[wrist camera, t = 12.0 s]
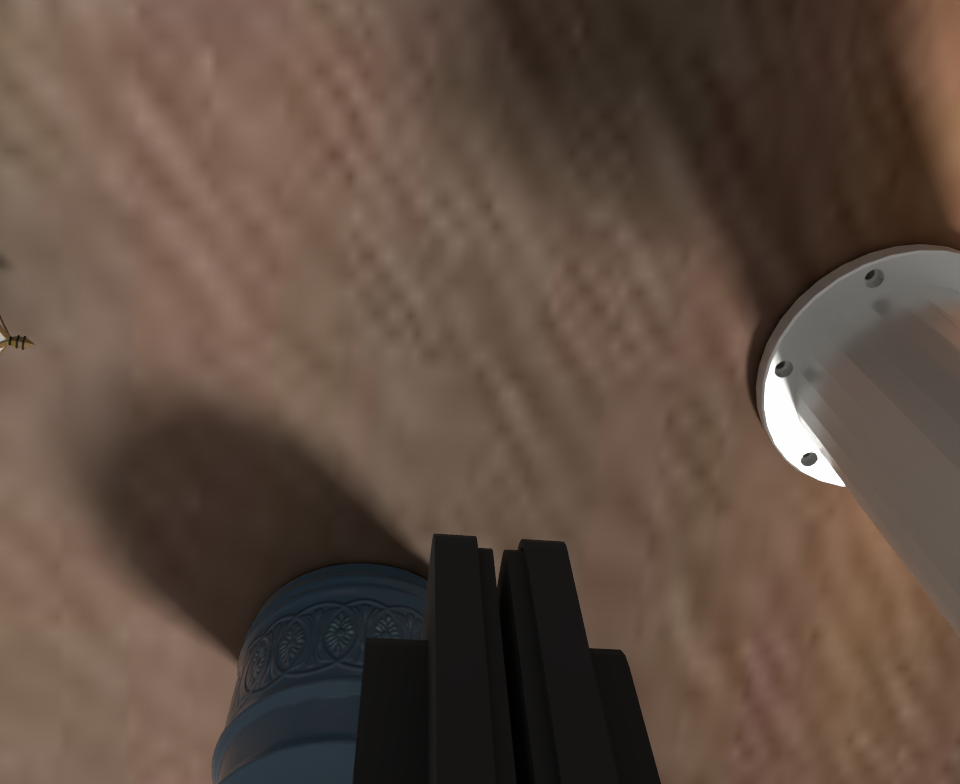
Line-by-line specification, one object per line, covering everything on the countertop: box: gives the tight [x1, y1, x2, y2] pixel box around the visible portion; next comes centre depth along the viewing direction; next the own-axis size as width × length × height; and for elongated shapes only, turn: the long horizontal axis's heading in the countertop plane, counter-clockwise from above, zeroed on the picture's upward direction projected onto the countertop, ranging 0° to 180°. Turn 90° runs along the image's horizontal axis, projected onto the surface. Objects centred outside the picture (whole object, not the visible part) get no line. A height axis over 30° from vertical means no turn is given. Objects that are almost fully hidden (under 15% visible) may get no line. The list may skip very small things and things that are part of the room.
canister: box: [212, 563, 428, 784], centre depth 40 cm, size 13×13×18 cm
